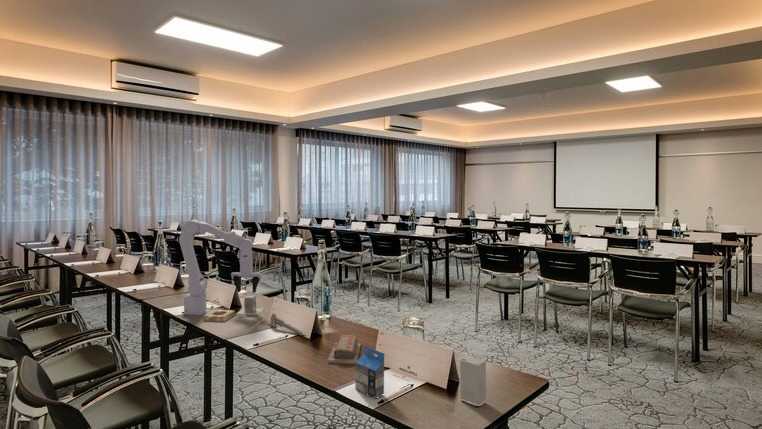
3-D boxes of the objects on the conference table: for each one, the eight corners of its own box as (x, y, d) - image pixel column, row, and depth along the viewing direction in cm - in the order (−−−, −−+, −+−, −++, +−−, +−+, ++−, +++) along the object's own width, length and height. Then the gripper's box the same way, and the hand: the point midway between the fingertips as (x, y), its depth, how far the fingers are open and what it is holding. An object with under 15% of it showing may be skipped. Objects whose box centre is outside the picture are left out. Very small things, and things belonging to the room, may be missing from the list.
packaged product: (335, 332, 168) (361, 333, 167) (335, 345, 168) (361, 345, 168) (327, 350, 150) (356, 351, 150) (327, 364, 150) (356, 365, 150)
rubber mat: (235, 315, 205) (235, 313, 205) (244, 309, 215) (244, 307, 215) (256, 315, 204) (256, 314, 204) (264, 309, 214) (264, 308, 214)
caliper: (270, 327, 188) (269, 313, 188) (272, 326, 189) (271, 312, 189) (304, 337, 177) (304, 321, 176) (306, 336, 178) (306, 321, 177)
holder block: (203, 321, 195) (203, 315, 195) (214, 314, 205) (214, 309, 205) (225, 322, 194) (224, 316, 194) (235, 315, 204) (234, 310, 204)
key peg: (244, 312, 208) (244, 297, 207) (248, 309, 212) (247, 295, 211) (252, 312, 207) (252, 297, 207) (256, 310, 211) (255, 295, 211)
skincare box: (486, 403, 123) (487, 360, 122) (478, 409, 120) (479, 365, 119) (467, 395, 127) (468, 354, 126) (459, 401, 124) (459, 359, 123)
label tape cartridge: (354, 389, 131) (354, 348, 130) (364, 385, 134) (364, 345, 133) (375, 399, 125) (375, 357, 124) (384, 395, 128) (385, 353, 127)
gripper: (228, 265, 207) (228, 293, 208) (257, 266, 205) (257, 294, 206) (234, 262, 214) (235, 290, 215) (263, 263, 212) (263, 291, 213)
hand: (246, 292), depth 211 cm, fingers open, 7 cm apart
